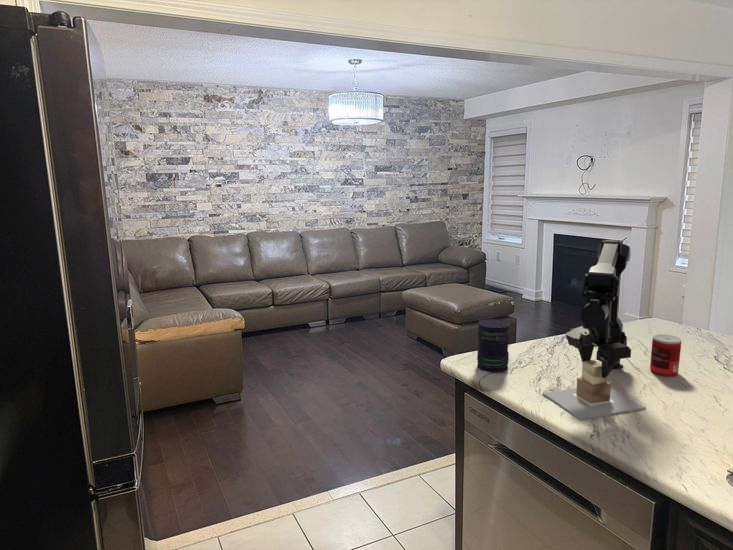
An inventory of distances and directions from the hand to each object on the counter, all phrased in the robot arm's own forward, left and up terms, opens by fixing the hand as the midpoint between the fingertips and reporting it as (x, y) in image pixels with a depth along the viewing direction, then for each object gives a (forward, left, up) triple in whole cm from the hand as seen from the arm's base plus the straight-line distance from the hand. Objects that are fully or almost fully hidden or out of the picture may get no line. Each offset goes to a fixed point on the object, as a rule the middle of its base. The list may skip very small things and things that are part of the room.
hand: (594, 372), depth 137 cm
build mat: (+1, +1, -8) cm, 8 cm away
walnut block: (0, 0, -7) cm, 7 cm away
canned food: (-34, -10, -8) cm, 36 cm away
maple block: (0, 0, -2) cm, 2 cm away
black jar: (+14, -30, -8) cm, 34 cm away
